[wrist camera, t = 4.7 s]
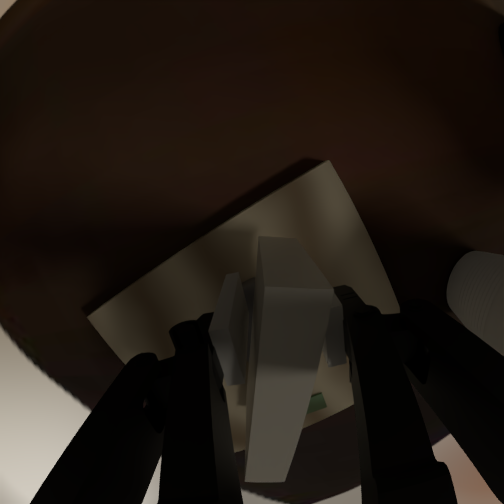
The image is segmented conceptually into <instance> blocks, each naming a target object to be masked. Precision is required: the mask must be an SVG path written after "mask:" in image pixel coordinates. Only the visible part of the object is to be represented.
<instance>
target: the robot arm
mask: <svg viewBox="0 0 504 504" xmlns="http://www.w3.org/2000/svg"><path fill="white" fill-rule="evenodd" d="M499 36H500V42H501V46H502V50H503V53H504V22H503V23H502V24H501V25H500V29H499ZM333 289H334V293H333V299H332V304H331V310H330V315H329V320H328V325H327V330H326V335H325V340H324V344H323V349H322V351H323V353H324V356H325V359H326V362H327V364H328V367H329V368H330V367H334V366H338V365H342V364H346V363H347V361H346V354H347V356H348V358H349V378H350V383H351V385H352V392H353V400H354V408H355V416H356V425H357V435H358V446H359V458H360V473H361V493H362V504H457V499H456V495H455V491H454V486H453V482H452V479H451V475H450V472H449V469H448V467H447V465H446V464H445V463H444V462H438V461H437V460H436V459H435V456H434V454H433V450H432V446H431V443H430V440H429V436H428V433H427V430H426V427H425V424H424V421H423V418H422V415H421V412H420V409H419V406H418V403H417V400H416V397H415V395H414V392H413V389H412V386H411V384H410V382H411V383H412V384H413V385H414V387H415V388H416V389H417V390H418V392H419V393H420V394H421V395H422V397H423V398H424V399H425V400H426V402H427V403H428V404H429V406H430V407H431V408H432V409H433V411H434V412H435V413H436V415H437V416H438V417H439V419H440V420H441V421H442V422H443V424H444V425H445V426H446V428H447V429H448V430H449V432H450V433H451V434H452V436H453V437H454V438H455V440H456V441H457V442H458V444H459V445H460V447H461V448H462V449H463V451H464V452H465V453H466V455H467V456H468V458H469V459H470V460H471V462H472V463H473V464H474V466H475V467H476V469H477V470H478V472H479V473H480V475H481V476H482V477H483V479H484V480H485V482H486V483H487V485H488V486H489V488H490V489H491V490H492V492H493V493H494V494H495V496H496V497H497V498H498V500H499V501H500V502H502V503H503V504H504V356H503V355H501V354H500V353H499V352H497V351H496V350H495V349H494V348H492V347H491V346H490V345H488V344H487V343H486V342H484V341H483V340H482V339H480V338H479V337H478V336H476V335H475V334H474V333H472V332H471V331H470V330H468V329H467V328H466V327H464V326H463V325H461V324H460V323H459V322H457V321H456V320H454V319H453V318H452V317H450V316H449V315H447V314H446V313H445V312H443V311H442V310H440V309H439V308H437V307H436V306H435V305H433V304H432V303H430V302H428V301H426V300H422V299H412V300H408V301H406V302H404V303H402V305H401V306H400V313H395V314H381V312H380V310H379V309H378V308H377V307H375V306H373V305H366V304H365V303H364V302H363V300H362V299H361V298H360V297H359V296H358V294H357V293H356V292H355V291H354V290H353V288H352V287H349V286H347V285H341V286H336V287H333ZM248 324H249V311H248V307H247V303H246V299H245V295H244V291H243V287H242V283H241V279H240V275H239V272H236V273H231V274H226V276H225V280H224V283H223V286H222V289H221V292H220V295H219V298H218V302H217V305H216V308H215V311H214V312H210V313H204V314H202V315H201V316H200V317H199V318H198V319H197V320H188V321H184V322H180V323H178V324H176V325H174V326H173V327H172V328H171V329H170V330H169V335H170V337H171V340H172V342H173V345H174V347H175V356H172V357H170V358H166V359H163V360H158V358H157V356H156V354H154V353H151V352H146V353H140V354H137V355H136V356H134V357H133V358H131V359H130V360H129V361H128V362H127V364H126V365H125V366H124V368H123V369H122V371H121V372H120V373H119V375H118V376H117V377H116V379H115V380H114V381H113V383H112V384H111V385H110V387H109V388H108V390H107V391H106V392H105V394H104V395H103V396H102V398H101V399H100V401H99V402H98V403H97V405H96V406H95V408H94V409H93V410H92V412H91V413H90V415H89V416H88V417H87V419H86V420H85V422H84V423H83V425H82V426H81V427H80V429H79V430H78V432H77V433H76V435H75V436H74V437H73V439H72V440H71V442H70V443H69V445H68V446H67V448H66V449H65V451H64V452H63V454H62V455H61V457H60V458H59V460H58V461H57V462H56V464H55V465H54V467H53V469H52V470H51V472H50V473H49V475H48V476H47V478H46V479H45V481H44V482H43V484H42V486H41V487H40V489H39V490H38V492H37V493H36V495H35V497H34V498H33V500H32V501H31V503H30V504H142V502H143V499H144V497H145V494H146V491H147V489H148V486H149V484H150V482H151V479H152V476H153V474H154V471H155V469H156V466H157V464H158V461H159V459H160V456H161V454H162V460H161V472H160V485H159V500H158V503H157V504H243V499H242V494H241V488H240V483H239V477H238V471H237V465H236V459H235V453H234V447H233V440H232V433H231V427H230V420H229V413H228V405H227V398H226V392H225V389H224V386H223V378H224V379H225V381H226V384H227V386H230V385H238V384H245V378H246V360H247V342H248ZM409 380H410V381H409ZM144 400H145V402H146V406H145V408H143V402H144Z"/></svg>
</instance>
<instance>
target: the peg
mask: <svg viewBox="0 0 504 504" xmlns="http://www.w3.org/2000/svg"><path fill="white" fill-rule="evenodd" d="M242 287H243V291H244V295H245V299H246V303H247V307H248V311H249V324H248V342H247V360H246V361H248V362H249V369H248V382H247V394H246V443H245V482H284V481H285V479H286V476H287V473H288V470H289V467H290V464H291V461H292V458H293V455H294V452H295V449H296V446H297V443H298V440H299V437H300V433H301V430H302V427H303V423H304V420H305V416H306V413H307V409H308V406H309V402H310V398H311V395H312V391H313V387H314V383H315V379H316V375H317V371H318V367H319V362H320V358H321V354H322V349H323V344H324V340H325V335H326V330H327V325H328V320H329V315H330V310H331V304H332V299H333V293H334V289H333V287H332V286H331V285H330V283H329V282H328V280H327V279H326V278H325V276H324V275H323V274H322V272H321V271H320V269H319V268H318V267H317V265H316V264H315V263H314V261H313V260H312V259H311V257H310V256H309V255H308V253H307V252H306V251H305V249H304V248H303V247H302V245H301V244H300V243H299V241H298V240H297V239H296V238H284V237H269V236H258V250H257V263H256V277H253V278H250V279H248V280H246V281H244V282H243V283H242Z"/></svg>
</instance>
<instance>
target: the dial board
mask: <svg viewBox="0 0 504 504" xmlns="http://www.w3.org/2000/svg"><path fill="white" fill-rule="evenodd" d="M258 236H269V237H284V238H296V239H297V240H298V241H299V243H300V244H301V245H302V247H303V248H304V249H305V251H306V252H307V253H308V255H309V256H310V257H311V259H312V260H313V261H314V263H315V264H316V265H317V267H318V268H319V269H320V271H321V272H322V274H323V275H324V276H325V278H326V279H327V280H328V282H329V283H330V285H331V286H332V287H336V286H341V285H347V286H349V287H352V288H353V290H354V291H355V292H356V293H357V294H358V296H359V297H360V298H361V299H362V300H363V302H364V303H365V304H366V305H373V306H375V307H377V308H378V309H379V310H380V312H381V314H395V313H400V307H399V304H398V302H397V299H396V296H395V294H394V291H393V289H392V286H391V284H390V281H389V279H388V277H387V274H386V272H385V270H384V267H383V265H382V263H381V260H380V258H379V256H378V254H377V252H376V249H375V247H374V245H373V243H372V241H371V239H370V236H369V234H368V232H367V230H366V228H365V226H364V224H363V222H362V220H361V218H360V216H359V214H358V212H357V210H356V208H355V206H354V204H353V202H352V200H351V199H350V197H349V195H348V193H347V191H346V189H345V187H344V186H343V184H342V182H341V180H340V178H339V177H338V175H337V173H336V171H335V169H334V168H333V166H332V164H331V163H330V161H329V160H327V161H324V162H322V163H320V164H319V165H317V166H315V167H314V168H312V169H310V170H308V171H307V172H305V173H303V174H302V175H300V176H298V177H297V178H295V179H293V180H292V181H290V182H288V183H287V184H285V185H283V186H282V187H280V188H278V189H277V190H275V191H273V192H272V193H270V194H268V195H267V196H265V197H264V198H262V199H260V200H259V201H257V202H255V203H254V204H252V205H251V206H249V207H247V208H246V209H244V210H243V211H241V212H239V213H238V214H236V215H235V216H233V217H231V218H230V219H228V220H227V221H225V222H224V223H222V224H220V225H219V226H217V227H216V228H214V229H213V230H211V231H210V232H208V233H207V234H205V235H203V236H202V237H200V238H199V239H197V240H196V241H194V242H193V243H191V244H190V245H188V246H187V247H185V248H184V249H182V250H181V251H179V252H178V253H176V254H175V255H173V256H172V257H170V258H169V259H167V260H166V261H164V262H163V263H161V264H160V265H158V266H157V267H155V268H154V269H153V270H151V271H150V272H148V273H147V274H145V275H144V276H142V277H141V278H140V279H138V280H137V281H135V282H134V283H132V284H131V285H129V286H128V287H127V288H125V289H124V290H122V291H121V292H120V293H118V294H117V295H115V296H114V297H113V298H111V299H110V300H108V301H107V302H106V303H104V304H103V305H101V306H100V307H99V308H97V309H96V310H95V311H93V312H92V313H91V314H90V315H89V316H88V317H87V318H88V319H89V321H90V322H91V323H92V325H93V326H94V327H95V329H96V330H97V331H98V332H99V334H100V335H101V336H102V338H103V339H104V340H105V341H106V342H107V344H108V345H109V346H110V347H111V349H112V350H113V351H114V352H115V353H116V355H117V356H118V357H119V358H120V359H121V360H122V361H123V363H124V364H125V365H126V364H127V362H128V361H129V360H130V359H131V358H133V357H134V356H136V355H137V354H140V353H146V352H151V353H154V354H156V356H157V358H158V360H163V359H166V358H170V357H172V356H175V347H174V345H173V342H172V340H171V337H170V335H169V330H170V329H171V328H172V327H173V326H174V325H176V324H178V323H180V322H184V321H188V320H197V319H198V318H199V317H200V316H201V315H202V314H204V313H210V312H214V311H215V308H216V305H217V302H218V298H219V295H220V292H221V289H222V286H223V283H224V280H225V276H226V274H231V273H236V272H239V275H240V279H241V283H243V282H244V281H246V280H248V279H250V278H253V277H256V263H257V250H258ZM346 361H347V363H346V364H342V365H338V366H334V367H330V368H329V367H328V364H327V362H326V359H325V356H324V353H323V351H322V354H321V358H320V362H319V367H318V371H317V375H316V379H315V383H314V387H313V391H312V395H311V398H310V402H309V406H308V409H307V413H306V416H305V420H304V423H303V427H302V428H305V427H307V426H309V425H312V424H314V423H316V422H318V421H320V420H323V419H325V418H327V417H329V416H331V415H333V414H335V413H337V412H339V411H341V410H343V409H345V408H347V407H349V406H351V405H353V404H354V400H353V392H352V385H351V383H350V378H349V358H348V356H347V354H346ZM248 369H249V362H248V361H246V378H245V384H238V385H230V386H227V384H226V381H225V379H224V378H223V386H224V389H225V392H226V398H227V405H228V413H229V420H230V427H231V433H232V440H233V447H234V453H235V452H238V451H241V450H245V443H246V394H247V382H248Z"/></svg>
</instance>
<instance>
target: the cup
mask: <svg viewBox="0 0 504 504" xmlns="http://www.w3.org/2000/svg"><path fill="white" fill-rule="evenodd" d="M446 294H447V302H448V305H449V307H450V308H451V310H452V311H453V312H454V313H455V314H456V316H457V317H458V318H459V319H460V321H461V322H462V323H463V324H464V326H465V327H466V328H467V329H468V330H470V331H471V332H472V333H474V334H475V335H476V336H478V337H479V338H480V339H482V340H483V341H484V342H486V343H487V344H488V345H490V346H491V347H492V348H494V349H495V350H496V351H497V352H499V353H500V354H501V355H503V356H504V255H500V254H493V253H487V252H481V251H471V252H469V253H467V254H465V255H464V256H463V257H461V259H460V260H459V261H458V262H457V263H456V265H455V266H454V268H453V270H452V272H451V274H450V277H449V280H448V284H447V292H446Z"/></svg>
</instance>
